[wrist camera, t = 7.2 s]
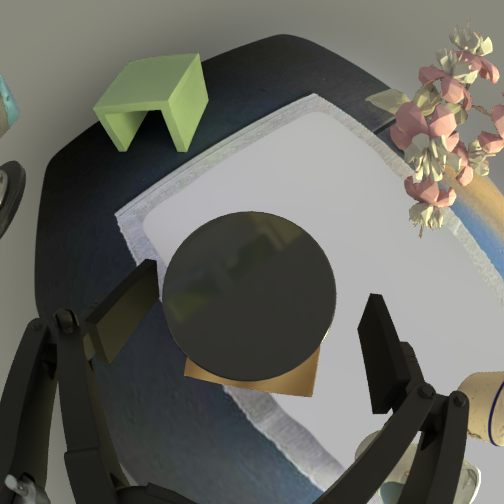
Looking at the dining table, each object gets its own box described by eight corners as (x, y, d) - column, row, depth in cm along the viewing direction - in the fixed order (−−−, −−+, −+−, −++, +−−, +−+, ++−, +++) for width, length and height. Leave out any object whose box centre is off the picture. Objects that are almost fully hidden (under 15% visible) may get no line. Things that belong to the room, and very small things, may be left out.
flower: (294, 137, 35) (410, 29, 11) (383, 79, 37) (480, 11, 13) (377, 251, 38) (527, 268, 14) (445, 172, 40) (555, 151, 16)
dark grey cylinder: (213, 355, 22) (145, 359, 9) (227, 283, 24) (184, 202, 11) (289, 368, 22) (323, 393, 8) (300, 294, 24) (342, 223, 11)
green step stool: (119, 151, 39) (92, 108, 29) (146, 102, 42) (129, 60, 33) (186, 152, 37) (168, 100, 28) (208, 100, 41) (198, 52, 32)
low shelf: (199, 370, 27) (183, 375, 22) (218, 273, 31) (208, 255, 25) (302, 388, 26) (312, 397, 21) (317, 288, 30) (329, 273, 24)
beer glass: (415, 441, 22) (493, 475, 8) (376, 484, 21) (434, 543, 7) (380, 415, 24) (459, 449, 10) (338, 461, 23) (387, 527, 9)
